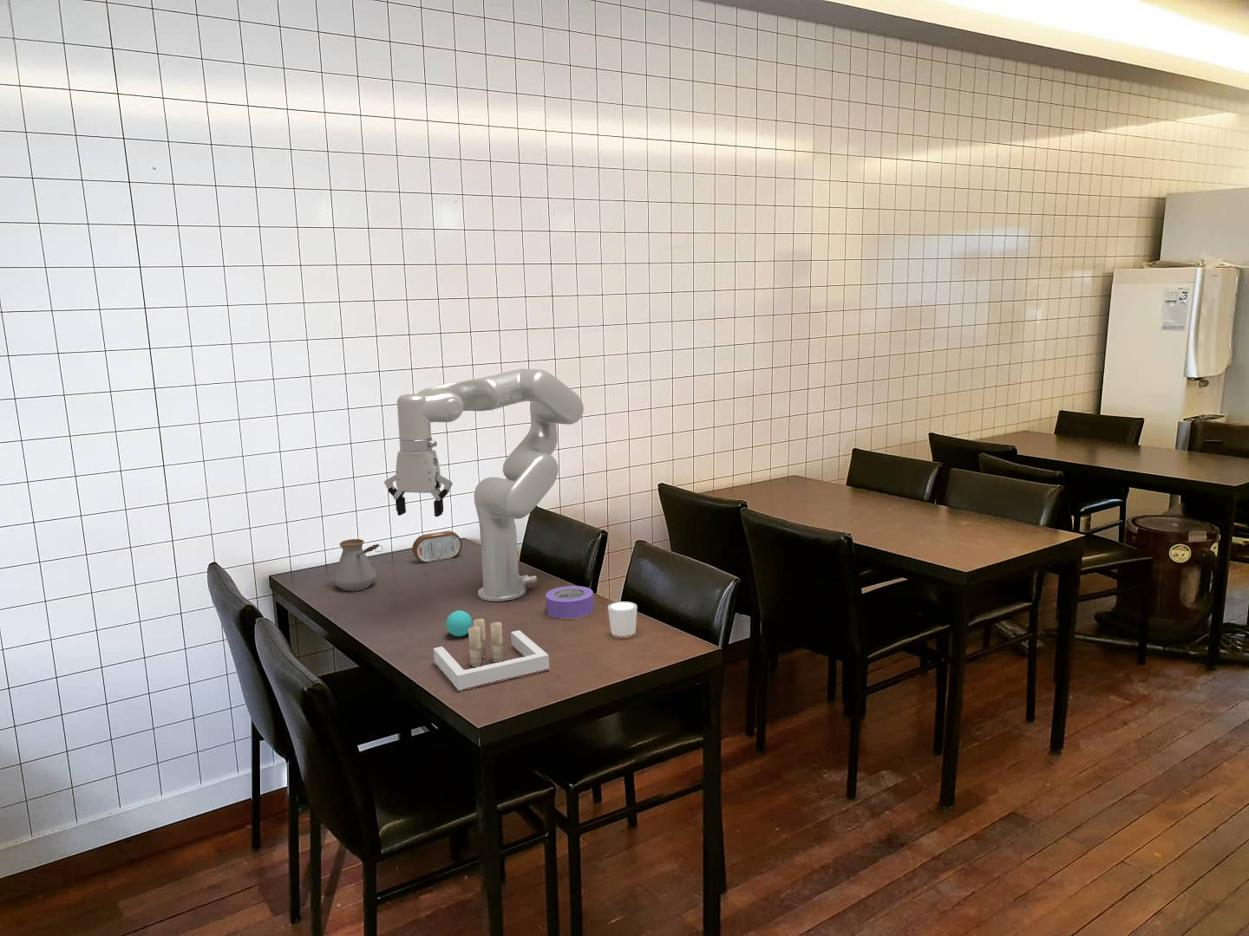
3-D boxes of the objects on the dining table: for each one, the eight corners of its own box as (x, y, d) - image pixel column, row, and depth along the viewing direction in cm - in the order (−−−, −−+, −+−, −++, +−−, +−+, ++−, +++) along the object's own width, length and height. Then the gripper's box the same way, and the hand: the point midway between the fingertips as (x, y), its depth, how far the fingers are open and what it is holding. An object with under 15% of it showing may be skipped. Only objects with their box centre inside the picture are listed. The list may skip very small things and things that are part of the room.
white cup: (612, 641, 213) (611, 612, 211) (605, 631, 219) (604, 603, 218) (641, 637, 214) (640, 608, 213) (633, 627, 221) (632, 599, 220)
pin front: (484, 653, 208) (482, 617, 206) (488, 657, 206) (485, 621, 204) (474, 656, 207) (471, 619, 205) (477, 659, 205) (475, 623, 203)
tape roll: (544, 621, 228) (543, 601, 227) (548, 604, 239) (548, 586, 238) (592, 619, 227) (592, 600, 226) (594, 603, 239) (594, 585, 238)
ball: (468, 629, 223) (466, 605, 222) (476, 637, 218) (474, 612, 217) (443, 634, 221) (442, 610, 219) (451, 642, 215) (449, 617, 214)
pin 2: (501, 657, 205) (499, 621, 204) (505, 661, 203) (503, 624, 202) (491, 659, 204) (488, 623, 203) (494, 663, 202) (492, 626, 201)
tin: (460, 554, 286) (458, 528, 285) (464, 557, 284) (462, 530, 282) (412, 563, 279) (410, 536, 277) (416, 565, 276) (414, 538, 275)
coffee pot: (327, 587, 259) (322, 535, 256) (365, 577, 266) (360, 526, 263) (363, 604, 243) (358, 549, 240) (402, 593, 251) (398, 540, 248)
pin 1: (479, 662, 203) (477, 625, 202) (483, 666, 201) (481, 628, 199) (469, 664, 202) (466, 627, 200) (472, 668, 200) (470, 631, 198)
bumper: (520, 644, 212) (519, 630, 212) (549, 670, 198) (548, 655, 197) (434, 663, 203) (433, 648, 203) (458, 691, 189) (457, 675, 188)
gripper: (455, 443, 225) (459, 512, 228) (390, 442, 229) (394, 510, 232) (443, 448, 218) (447, 519, 221) (375, 447, 222) (380, 517, 225)
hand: (420, 514), depth 227 cm, fingers open, 9 cm apart
